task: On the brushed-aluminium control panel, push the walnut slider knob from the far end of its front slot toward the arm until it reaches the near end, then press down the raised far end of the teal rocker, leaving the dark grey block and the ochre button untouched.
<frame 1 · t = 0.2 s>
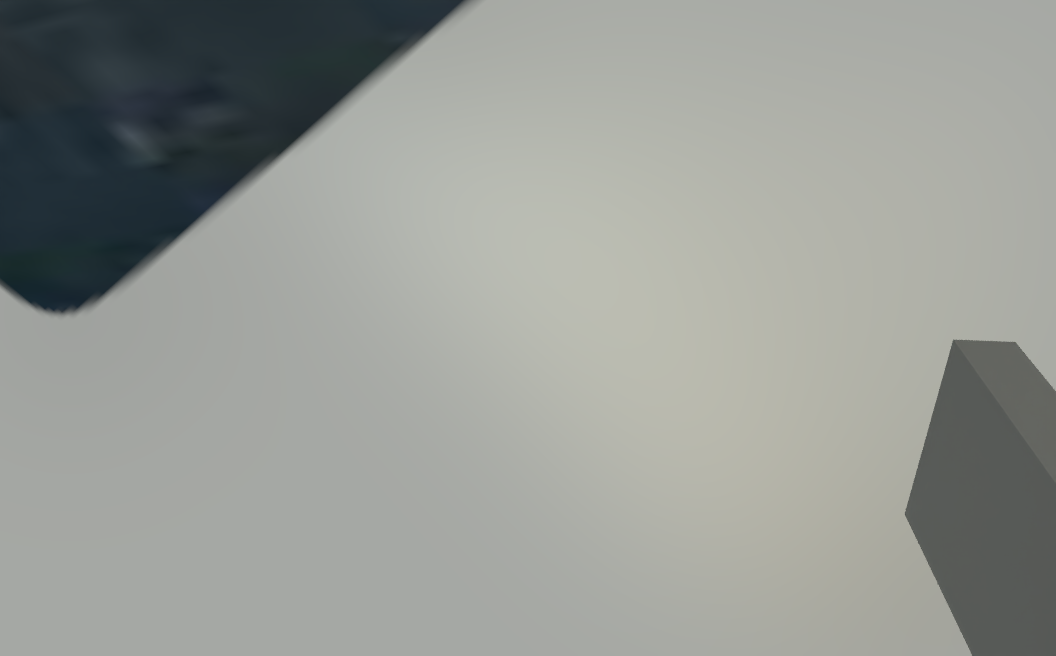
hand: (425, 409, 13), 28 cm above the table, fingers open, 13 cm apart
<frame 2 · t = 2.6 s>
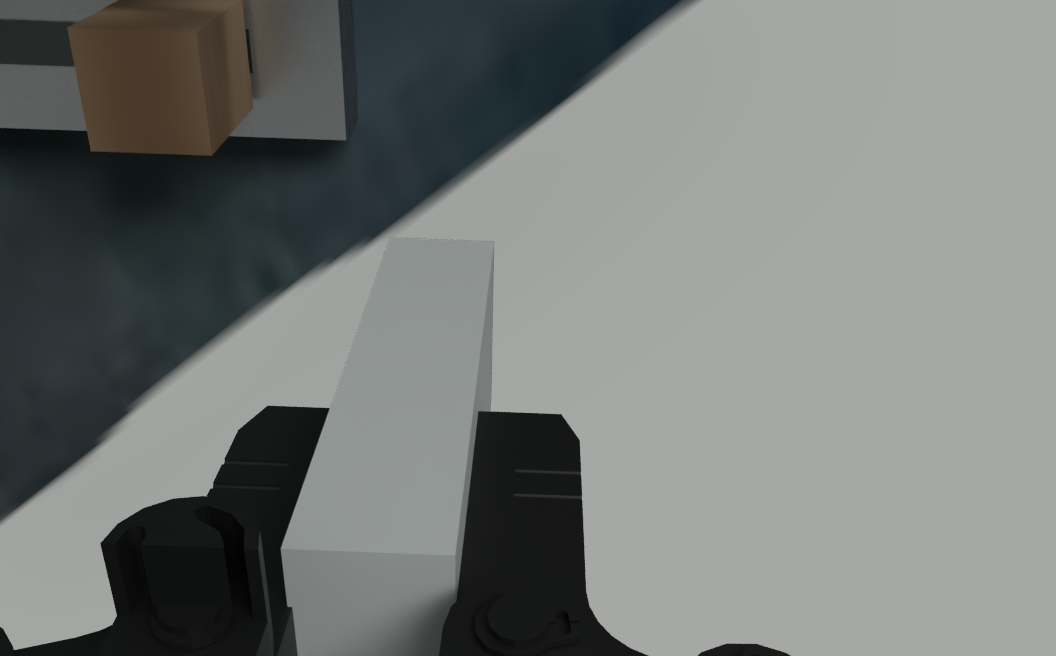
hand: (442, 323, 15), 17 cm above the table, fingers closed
walnut knob: (169, 71, 26), point 4 cm above the table, slide at 0.0 cm
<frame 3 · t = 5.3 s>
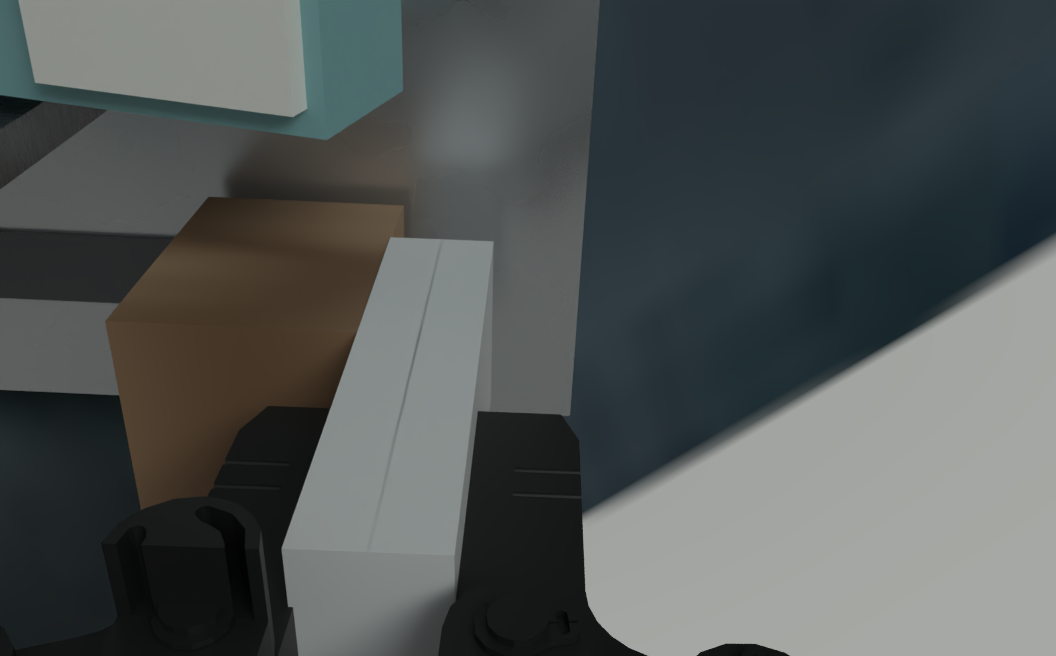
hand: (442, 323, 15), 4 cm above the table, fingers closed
walnut knob: (282, 351, 14), point 4 cm above the table, slide at 0.3 cm, touching gripper
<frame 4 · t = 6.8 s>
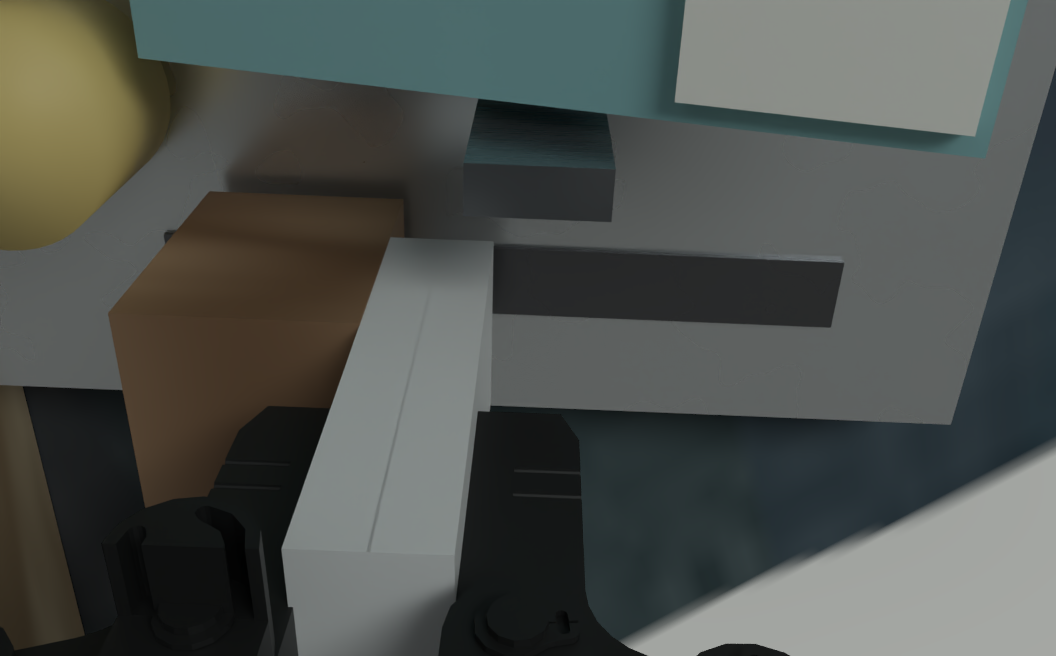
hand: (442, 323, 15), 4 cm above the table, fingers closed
ochre button: (29, 112, 14), point 4 cm above the table, slide at 0.0 cm
walnut knob: (283, 343, 14), point 4 cm above the table, slide at 7.1 cm, touching gripper
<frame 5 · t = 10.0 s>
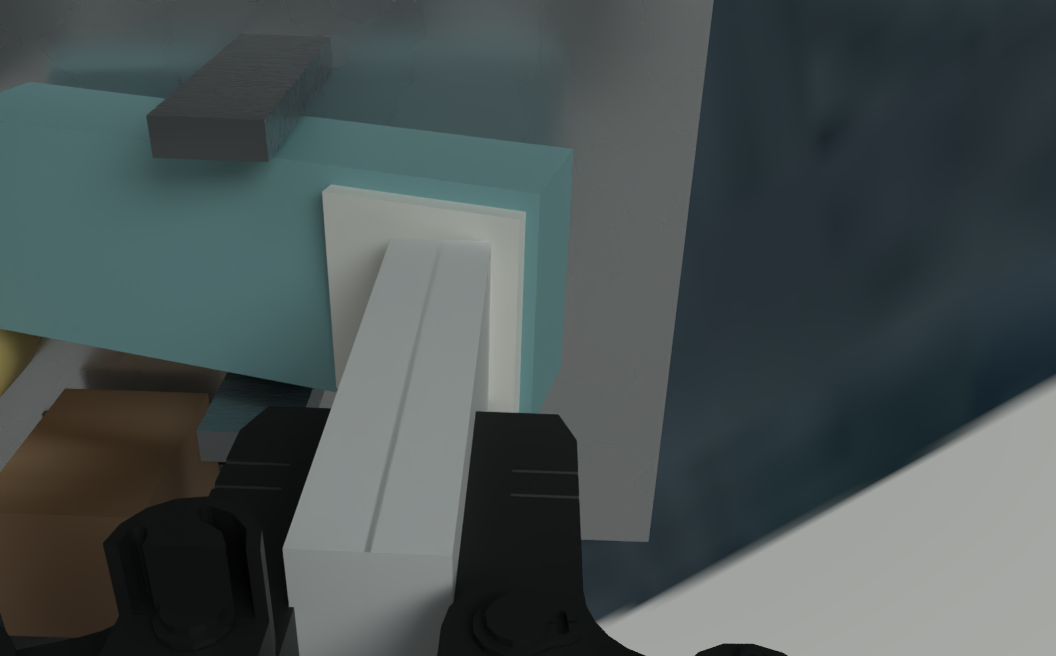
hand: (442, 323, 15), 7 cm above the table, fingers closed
teal rocker: (261, 249, 17), point 5 cm above the table, hinge at -14.9°, touching gripper
panel: (277, 218, 22), on the table
walnut knob: (112, 508, 20), point 4 cm above the table, slide at 7.2 cm
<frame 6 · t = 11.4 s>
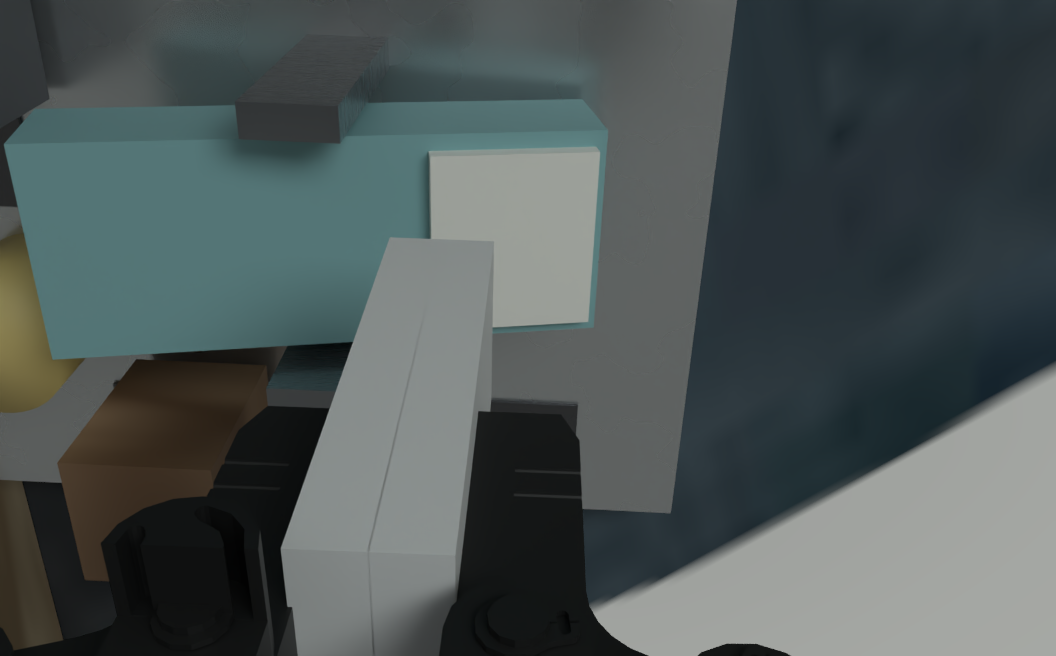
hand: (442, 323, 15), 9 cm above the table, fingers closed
teal rocker: (328, 226, 18), point 5 cm above the table, hinge at 12.6°
ochre button: (19, 321, 21), point 4 cm above the table, slide at 0.0 cm
panel: (332, 206, 23), on the table
walnut knob: (179, 467, 22), point 4 cm above the table, slide at 7.2 cm
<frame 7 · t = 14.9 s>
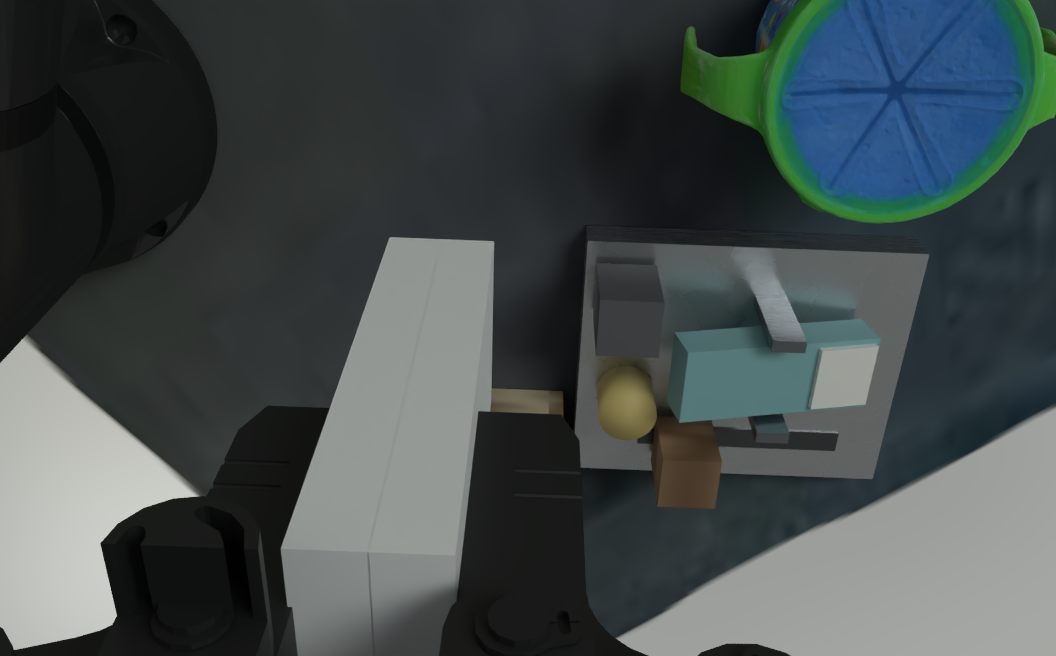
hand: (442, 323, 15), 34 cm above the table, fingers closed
glasses valet frame: (468, 496, 60), on the table
teal rocker: (773, 371, 50), point 5 cm above the table, hinge at 12.7°
dark grey block: (626, 309, 48), point 4 cm above the table, slide at 0.0 cm
ochre button: (626, 402, 52), point 4 cm above the table, slide at 0.0 cm
panel: (733, 348, 54), on the table
walnut knob: (684, 461, 53), point 4 cm above the table, slide at 7.2 cm
snack cup: (834, 34, 46), on the table
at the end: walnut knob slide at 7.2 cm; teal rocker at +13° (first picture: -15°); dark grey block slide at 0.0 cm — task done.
